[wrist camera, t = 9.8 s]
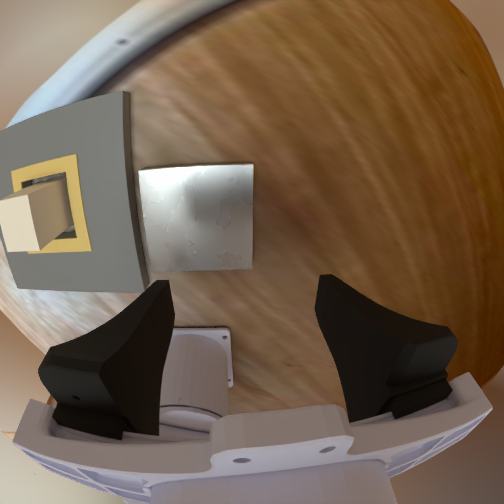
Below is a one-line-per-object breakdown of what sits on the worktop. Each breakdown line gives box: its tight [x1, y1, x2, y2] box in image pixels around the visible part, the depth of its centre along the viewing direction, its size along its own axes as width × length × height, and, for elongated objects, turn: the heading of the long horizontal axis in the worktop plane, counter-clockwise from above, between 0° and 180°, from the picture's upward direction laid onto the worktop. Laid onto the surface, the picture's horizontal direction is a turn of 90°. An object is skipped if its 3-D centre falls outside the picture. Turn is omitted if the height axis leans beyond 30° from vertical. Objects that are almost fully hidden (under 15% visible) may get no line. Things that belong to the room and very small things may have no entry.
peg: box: [0, 177, 74, 252], centre depth 16 cm, size 4×4×6 cm
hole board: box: [0, 91, 149, 293], centre depth 18 cm, size 16×16×2 cm
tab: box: [139, 162, 253, 272], centre depth 20 cm, size 8×8×2 cm
